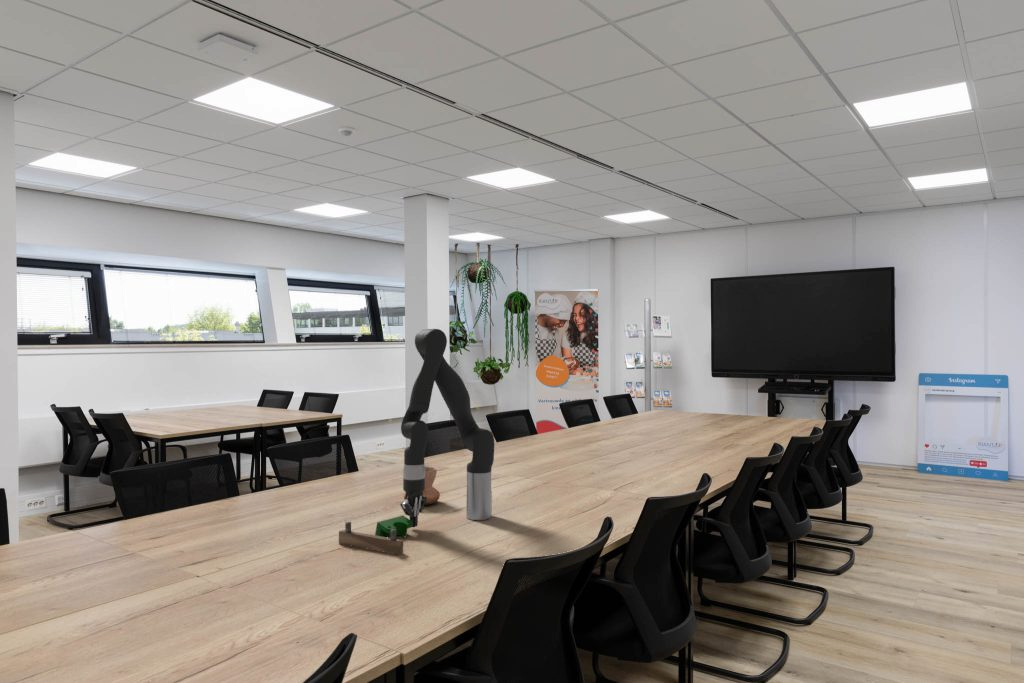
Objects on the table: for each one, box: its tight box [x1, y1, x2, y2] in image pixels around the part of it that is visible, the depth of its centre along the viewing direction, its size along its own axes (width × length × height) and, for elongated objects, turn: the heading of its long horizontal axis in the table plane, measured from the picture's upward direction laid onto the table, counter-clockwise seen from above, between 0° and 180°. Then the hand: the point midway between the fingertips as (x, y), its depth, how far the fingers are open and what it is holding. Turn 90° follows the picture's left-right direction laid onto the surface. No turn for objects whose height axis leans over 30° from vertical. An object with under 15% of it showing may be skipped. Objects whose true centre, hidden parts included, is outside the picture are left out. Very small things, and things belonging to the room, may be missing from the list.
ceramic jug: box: [403, 465, 441, 506], centre depth 261 cm, size 18×14×14 cm
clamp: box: [374, 515, 413, 538], centre depth 215 cm, size 12×6×9 cm, turn 135°
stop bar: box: [338, 521, 404, 556], centre depth 203 cm, size 2×24×7 cm, turn 63°
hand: (413, 526), depth 225 cm, fingers closed
